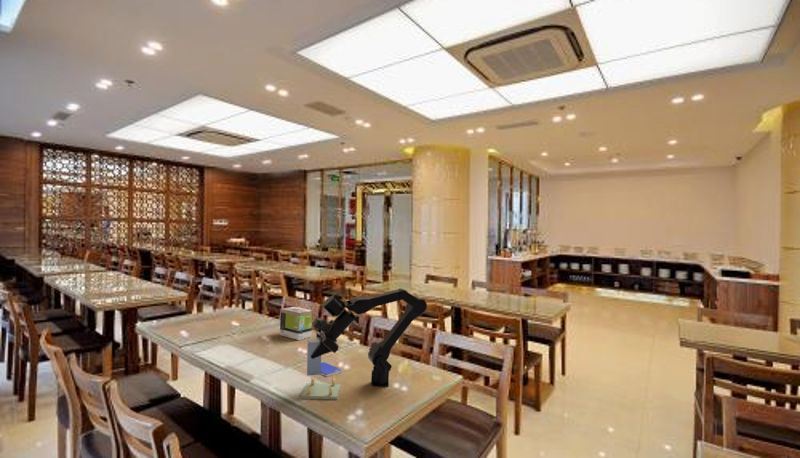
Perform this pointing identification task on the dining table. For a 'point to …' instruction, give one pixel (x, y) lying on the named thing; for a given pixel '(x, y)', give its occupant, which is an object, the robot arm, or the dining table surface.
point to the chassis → (320, 390)
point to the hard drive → (329, 369)
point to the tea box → (296, 323)
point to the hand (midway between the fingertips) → (310, 355)
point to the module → (315, 363)
